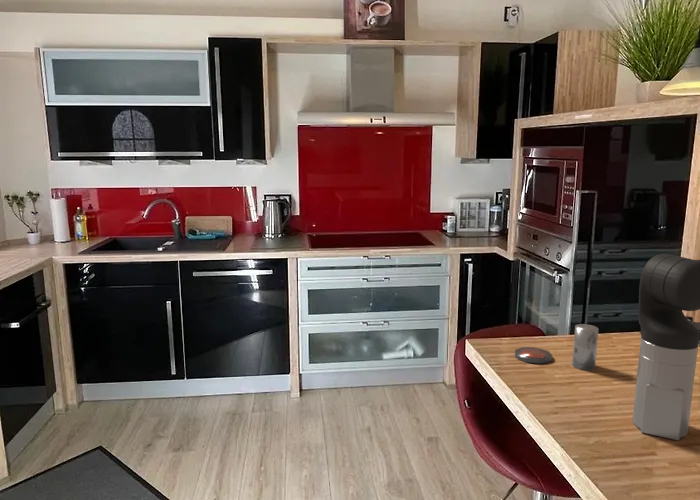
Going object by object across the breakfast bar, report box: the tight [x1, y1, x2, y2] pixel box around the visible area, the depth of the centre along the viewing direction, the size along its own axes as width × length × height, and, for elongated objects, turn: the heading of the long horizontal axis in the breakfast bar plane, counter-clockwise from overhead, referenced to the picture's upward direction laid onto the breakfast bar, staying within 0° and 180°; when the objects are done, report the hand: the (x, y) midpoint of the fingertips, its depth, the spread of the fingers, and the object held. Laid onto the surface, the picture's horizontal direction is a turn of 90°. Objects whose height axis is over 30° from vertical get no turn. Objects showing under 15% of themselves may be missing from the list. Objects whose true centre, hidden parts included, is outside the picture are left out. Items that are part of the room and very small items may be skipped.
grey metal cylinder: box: [571, 323, 599, 371], centre depth 129 cm, size 5×5×10 cm
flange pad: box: [514, 346, 553, 365], centre depth 135 cm, size 9×9×1 cm
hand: (641, 324), depth 122 cm, fingers open, 8 cm apart
